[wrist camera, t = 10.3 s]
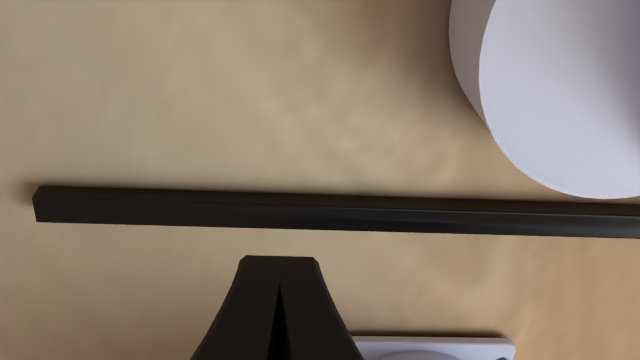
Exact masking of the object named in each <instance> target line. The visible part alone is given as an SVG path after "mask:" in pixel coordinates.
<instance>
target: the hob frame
mask: <svg viewBox="0 0 640 360" xmlns="http://www.w3.org/2000/svg"><path fill="white" fill-rule="evenodd" d="M32 201H33V206H34V211H35V216H36V221H37V222H52V223H88V224H125V225H161V226H198V227H234V228H270V229H307V230H343V231H380V232H416V233H452V234H489V235H525V236H562V237H598V238H635V239H640V205H626V204H594V203H563V202H532V201H500V200H469V199H438V198H406V197H375V196H344V195H312V194H281V193H250V192H218V191H187V190H156V189H124V188H93V187H62V186H39V188H38V189H37V191H36V192H35V194H34V195H33V197H32Z"/></svg>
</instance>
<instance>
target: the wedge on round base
mask: <svg viewBox="0 0 640 360" xmlns="http://www.w3.org/2000/svg"><path fill="white" fill-rule="evenodd" d="M449 46H450V54H451V60H452V64H453V67H454V71H455V74H456V77H457V79H458V82H459V84H460V86H461V88H462V90H463V92H464V94H465V95H466V97H467V98H468V100H469V101H470V103H471V104H472V106H473V108H474V109H475V111H476V112H477V114H478V115H479V117H480V118H481V120H482V121H483V123H484V124H485V126H486V127H487V129H488V130H489V132H490V133H491V135H492V136H493V138H494V140H495V141H496V142H497V144H498V145H499V147H500V148H501V150H502V151H503V153H504V154H505V156H506V157H507V158H508V159H509V160H510V161H511V162H512V163H513V164H514V165H515V166H516V167H517V168H518V169H519V170H521V171H522V172H523V173H525V174H526V175H527V176H529V177H530V178H531V179H533V180H535V181H537V182H539V183H541V184H542V185H544V186H546V187H548V188H551V189H554V190H557V191H559V192H562V193H565V194H569V195H574V196H579V197H584V198H598V199H615V198H628V197H634V196H640V0H452V4H451V11H450V17H449Z"/></svg>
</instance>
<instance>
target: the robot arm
mask: <svg viewBox="0 0 640 360" xmlns="http://www.w3.org/2000/svg"><path fill="white" fill-rule="evenodd" d="M514 355H515V347H514V345H513V343H512V341H511V340H509V339H507V338H467V337H396V336H351V335H350V333H349V331H348V330H347V328H346V326H345V324H344V322H343V320H342V319H341V317H340V315H339V313H338V311H337V309H336V306H335V304H334V302H333V300H332V298H331V296H330V293H329V291H328V289H327V286H326V284H325V281H324V279H323V276H322V273H321V270H320V267H319V263H318V262H317V261H316V260H315V259H314V258H313V257H292V256H251V255H246V256H245V257H244V258H242V259H241V260H240V262H239V266H238V269H237V272H236V275H235V278H234V280H233V283H232V285H231V287H230V289H229V292H228V294H227V296H226V298H225V300H224V302H223V304H222V306H221V308H220V310H219V312H218V314H217V315H216V317H215V319H214V321H213V323H212V324H211V326H210V328H209V330H208V332H207V334H206V335H205V337H204V339H203V340H202V342H201V343H200V345H199V347H198V348H197V350H196V351H195V353H194V354H193V356H192V357H191V359H190V360H513V358H514ZM501 357H502V358H501ZM498 358H500V359H498Z"/></svg>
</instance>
